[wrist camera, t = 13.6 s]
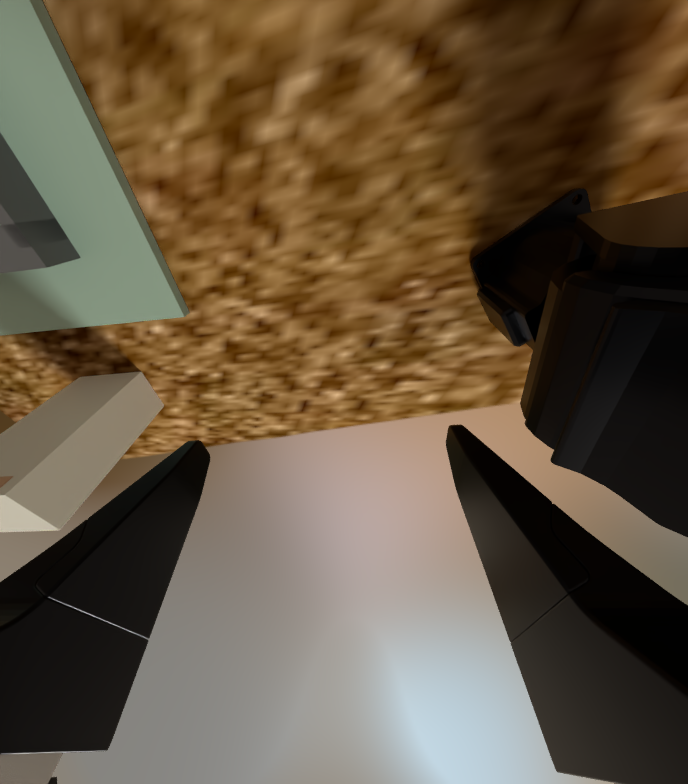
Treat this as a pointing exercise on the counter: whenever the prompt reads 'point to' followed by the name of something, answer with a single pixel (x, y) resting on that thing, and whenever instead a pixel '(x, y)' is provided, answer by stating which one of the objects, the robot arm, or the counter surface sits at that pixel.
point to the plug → (70, 448)
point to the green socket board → (66, 198)
